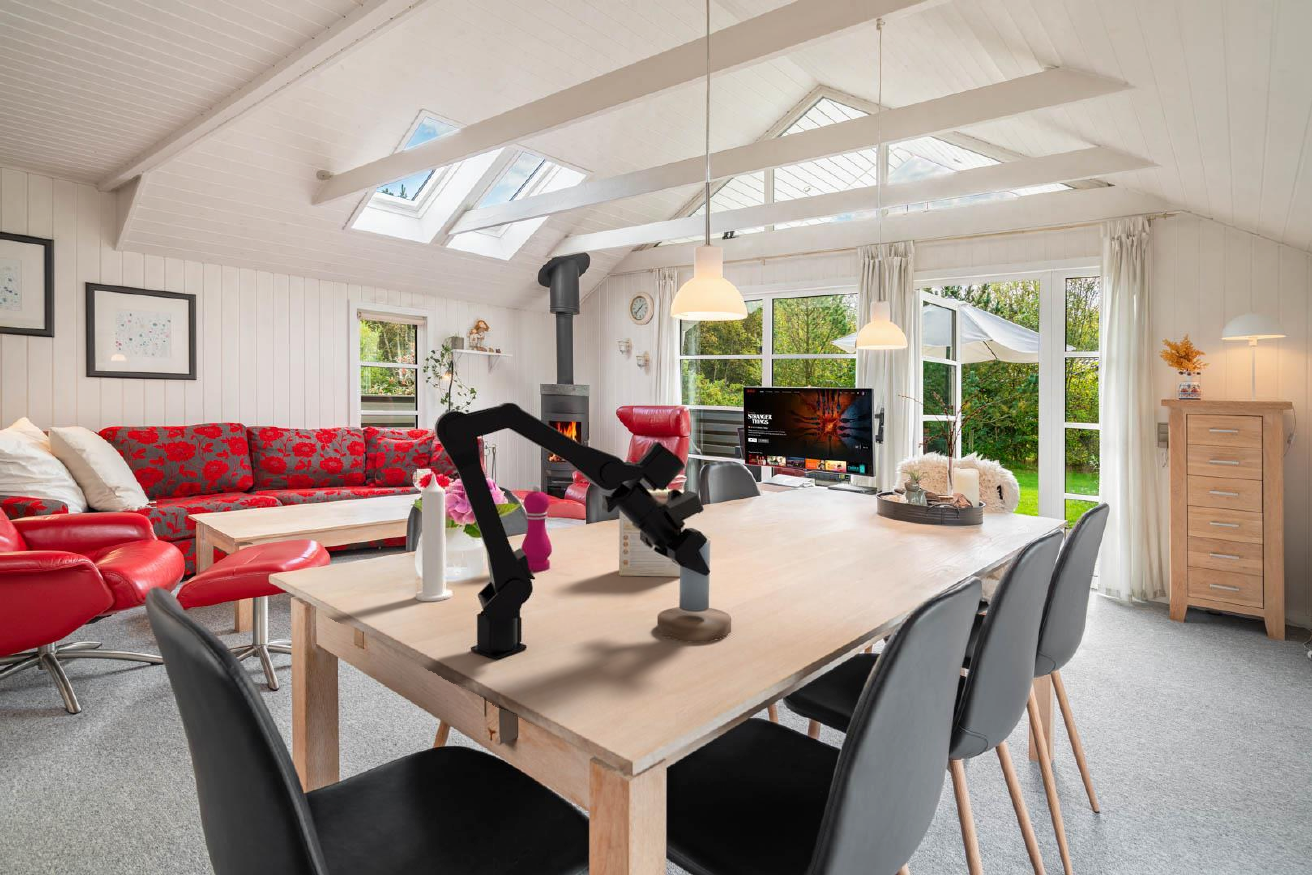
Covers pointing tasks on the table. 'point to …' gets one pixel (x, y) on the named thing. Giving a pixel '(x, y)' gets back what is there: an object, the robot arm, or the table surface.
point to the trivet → (694, 624)
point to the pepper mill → (537, 531)
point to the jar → (695, 585)
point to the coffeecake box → (643, 549)
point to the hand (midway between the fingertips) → (701, 570)
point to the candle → (433, 544)
